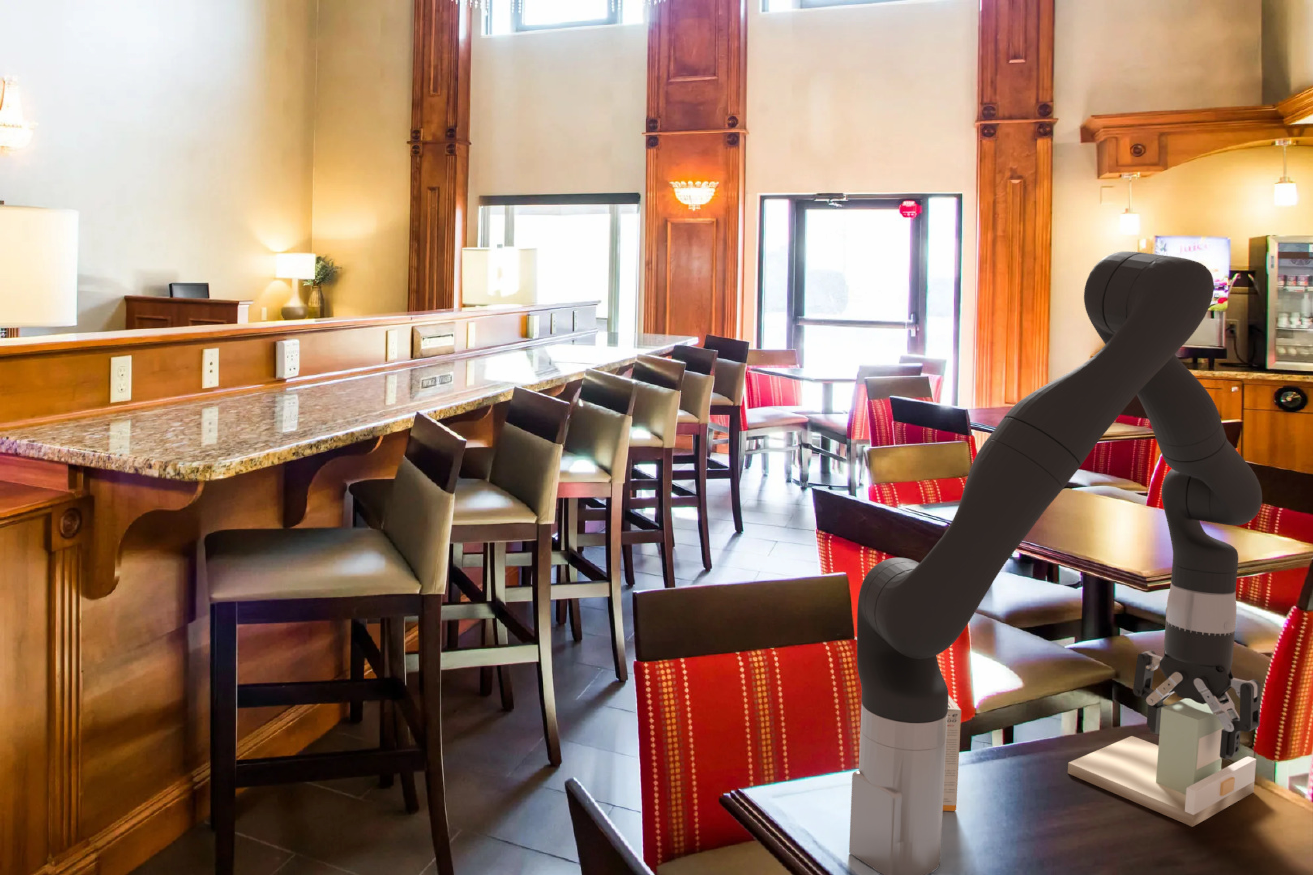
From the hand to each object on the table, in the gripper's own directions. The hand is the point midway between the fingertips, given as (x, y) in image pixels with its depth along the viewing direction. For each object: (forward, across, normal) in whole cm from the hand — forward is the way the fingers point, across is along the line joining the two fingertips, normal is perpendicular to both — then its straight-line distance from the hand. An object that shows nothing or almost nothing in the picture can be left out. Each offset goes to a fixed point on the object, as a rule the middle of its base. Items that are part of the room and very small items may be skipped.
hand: (1190, 744), depth 114 cm
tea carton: (+5, 0, 0) cm, 5 cm away
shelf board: (+7, +4, 0) cm, 7 cm away
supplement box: (+7, +18, +29) cm, 35 cm away
